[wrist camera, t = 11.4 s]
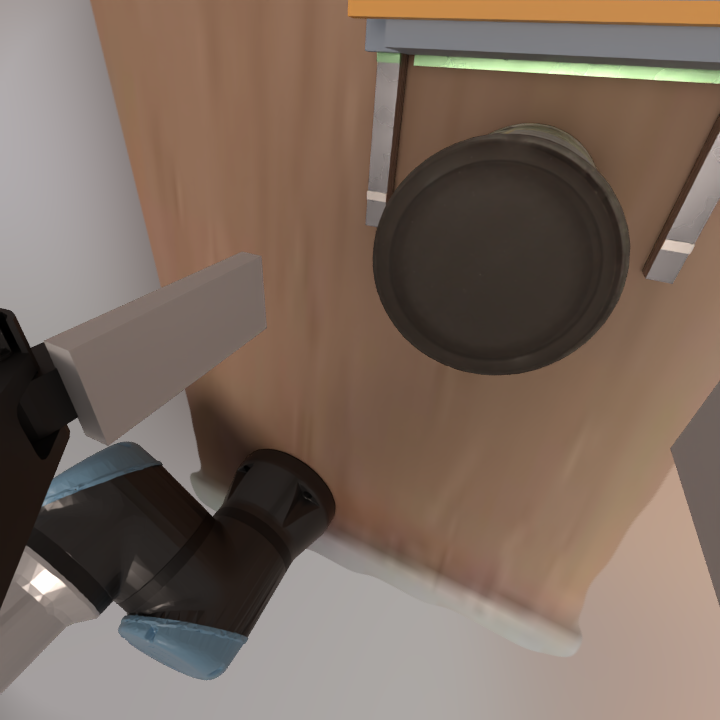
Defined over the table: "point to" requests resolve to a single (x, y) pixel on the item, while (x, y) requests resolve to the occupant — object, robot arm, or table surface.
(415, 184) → the coffee can
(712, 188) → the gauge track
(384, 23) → the carriage
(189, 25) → the table surface
